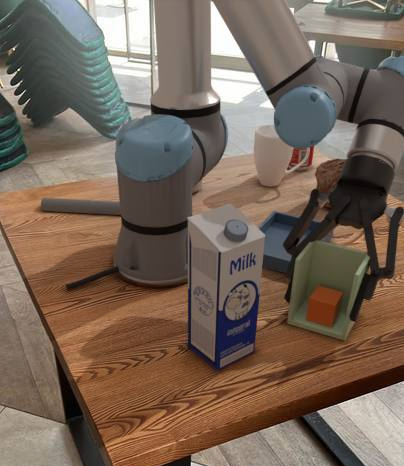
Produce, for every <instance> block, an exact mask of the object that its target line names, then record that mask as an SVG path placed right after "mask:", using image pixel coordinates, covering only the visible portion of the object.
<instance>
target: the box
mask: <svg viewBox="0 0 404 466" xmlns="http://www.w3.org/2000/svg"><path fill="white" fill-rule="evenodd" d="M369 259H370V257H369V256H368V252H367V251H364V250H362V249H361V250H360V249H356V248H352V247H348V246H343V245H340V244H335V243H332V242H328V243H327V242H323V241H319V240H315V241H313V242H309V243H308V245H307V246H306V247H305V248H304V250H303V251H302V252H301V253H300V254H299V256H298V257H297V258H296V260H295V268H294V275H293V282H292V290H291V297H290V303H289V306H288V311H287V320H286V324H288V325H291V326H295V327H297V328H301V329H305V330H307V331H311V332H314V333H316V334H317V333H318V334H321V335H324V336H328V337H331V338H334V339H338V340H341V341H346V339H347V337H348V336H349V334H350V332H351V330H352V329H353V327H354V325H355V323H356V322H354V321H351V320H350V317H349V316H350V313H351V310H352V307H353V304H354V302H355V299H356V296H357V293H358V290H359V287H360V284H361V282H362V279H363V276H364V273H367V274H369V270H370V265H369ZM318 285H319V286H323V287H326V288H330V289H334V290H338V291H341V292H344V294H343V299H342V303H341V308H340V313H339V315H338V317H337V319H336V320H335V322H334V324H333V326H332V327H328V326H325V325H321V324H318V323H314V322H311V321H308V320H306V316H307V310H308V303H309V298H310V296H311V295H312V293H313V292H314V291H315V289H316V288H317V286H318Z"/></svg>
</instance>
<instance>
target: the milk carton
mask: <svg viewBox="0 0 404 466" xmlns="http://www.w3.org/2000/svg"><path fill="white" fill-rule="evenodd" d="M187 219H188V282H187V348H188V349H190V350H191V351H192V352H194V353H195V354H196V355H197V356H199V357H200V359H202V360H203V361H204V362H206V363H208V364H209V365H210V366H211V367H212V368H214V369H215V370H216V371H217V372H218V371H220V370H222V369H224V368H225V367H227V366H229V365H231V364H233V363H236V362H237V361H239V360H241V359H244V358H246V357H248V356H249V355H251V354H253V353H255V349H256V348H255V347H256V336H257V326H258V315H259V307H260V306H259V305H260V294H261V283H262V273H263V272H262V271H263V267H262V263H263V252H264V241H265V236H266V235H265V234H264V233H262V232H261V231H260V230H259V229H258V228H257V227H258V226H257V225H255V223H253V222H252V221H251V220H250V218H248V217H247V216H246V215H245V213H243V212H242V210H239V209H238V208H237V207H235V206H234V205H233V204H232V203H227V204H224V205H221V206H219V207H218V206H217V207H215V208H211V209H209V210H206V211H202V212H199V213H197V214H194V215H193V214H192V216H190V217H187Z"/></svg>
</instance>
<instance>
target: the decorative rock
mask: <svg viewBox="0 0 404 466" xmlns="http://www.w3.org/2000/svg"><path fill="white" fill-rule="evenodd" d="M346 159H347V158H345V159H344V158H340V157H339V158H334V159H327V160H326V161H324V162H323V161H322V162H321V163H320V164H319V165H318V166H317V167H316V169H315V173H314V176H315V180H316V188H315V189H318V190H319V192H322V193H330V192H331V191H332V190H333V189H334V188H335V187H336V185H337V182H338V179H339V176H340V173H341V170H342V167H343V165H344V162H345V160H346ZM324 207H326V208H331V205H330V202H326V203H325V204H324Z"/></svg>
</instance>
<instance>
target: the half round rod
mask: <svg viewBox="0 0 404 466" xmlns="http://www.w3.org/2000/svg"><path fill="white" fill-rule="evenodd" d="M40 207H41V209H42V210H43V211H45V212H58V213H60V212H61V213H76V214H77V213H79V214H95V215H96V214H97V215H113V216H121V212H120V201H112V200H94V199H78V198H77V199H76V198H58V197H57V198H56V197H42V198H41V201H40Z"/></svg>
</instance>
